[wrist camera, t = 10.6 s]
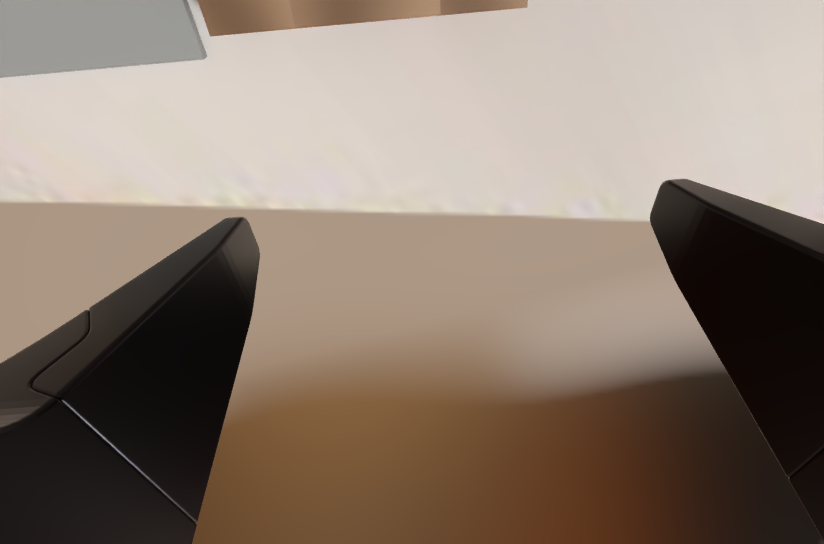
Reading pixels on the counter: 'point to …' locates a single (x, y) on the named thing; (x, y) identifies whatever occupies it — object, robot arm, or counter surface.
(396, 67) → the counter surface
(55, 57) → the mat
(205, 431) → the robot arm
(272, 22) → the pocket board
